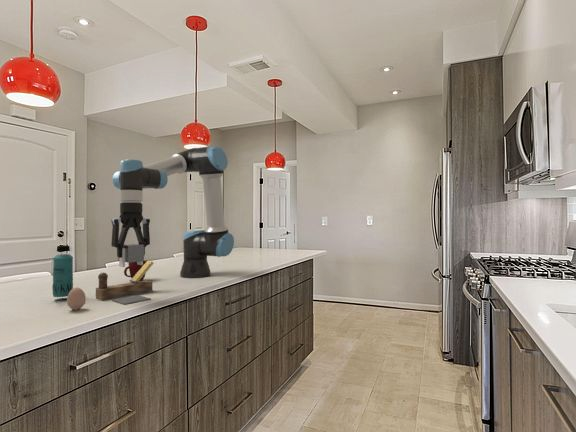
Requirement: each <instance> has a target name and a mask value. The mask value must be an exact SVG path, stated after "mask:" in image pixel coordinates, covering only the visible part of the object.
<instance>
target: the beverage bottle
mask: <svg viewBox="0 0 576 432" xmlns="http://www.w3.org/2000/svg"><path fill="white" fill-rule="evenodd" d="M70 251H71V248H70V245H65V244H63V245H58V246H56V252H58V253H59V252H61V254H55V256H54V257H53V258H52V260H53V261H52V263H53V265H52V266H53V269H52V271H53V272H52V295H53V297H54V298H64V297H67V296H68V294H69V292H70V291H71V290H72V289H73V288H74V258H73V255H71V254H69V253H67V254H66V253H65V254H64V253H63V254H62V252H70Z"/></svg>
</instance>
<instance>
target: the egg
mask: <svg viewBox="0 0 576 432" xmlns="http://www.w3.org/2000/svg"><path fill="white" fill-rule="evenodd" d="M66 297H67V298H66V304H67V306H68V307H69V309H71V310H72V311H78V310H80V309H82V308H83V307H84V305H85V303H86V299H87V298H86V294H85V292H84V291H83V289H82V288H80V287H73V289H72V290H71V291H70V292H69V294H68V296H66Z"/></svg>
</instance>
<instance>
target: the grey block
mask: <svg viewBox="0 0 576 432" xmlns="http://www.w3.org/2000/svg"><path fill="white" fill-rule="evenodd" d="M123 248H124V249H125V263H127V264H129V263H130V262H139V261H144V259H145V255H144V245H143V244H139V243H126V244H125V243H124V246H123ZM117 259H118V262H119V257H117Z"/></svg>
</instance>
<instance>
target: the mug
mask: <svg viewBox="0 0 576 432" xmlns="http://www.w3.org/2000/svg"><path fill="white" fill-rule="evenodd" d="M147 261H148V259H146V258H144V261H143V265H144V264H145V263H146V262H147ZM143 265H138V264H137V262H130V263H128V266H125V267H124V271H123V274H124V276H125V277H127V278H131V279H132V278H133V277H134V276H135V275H136V273H137V272H138V271H139V270H140V269H141V268H142V266H143ZM127 271H129V274H127ZM146 274H147V272H146V273H145V274H144V275H143V277H142V278H141V279H140V280H139V281H144V279H145V276H146ZM139 281H138V282H139Z"/></svg>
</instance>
